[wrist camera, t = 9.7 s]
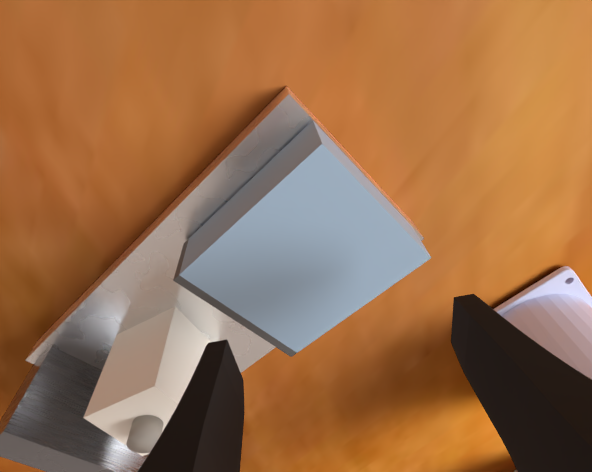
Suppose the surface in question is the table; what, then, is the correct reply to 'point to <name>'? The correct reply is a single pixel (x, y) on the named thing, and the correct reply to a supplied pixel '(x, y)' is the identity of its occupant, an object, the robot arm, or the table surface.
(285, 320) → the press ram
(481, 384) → the robot arm
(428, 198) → the table surface
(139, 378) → the block
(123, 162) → the table surface
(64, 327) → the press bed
